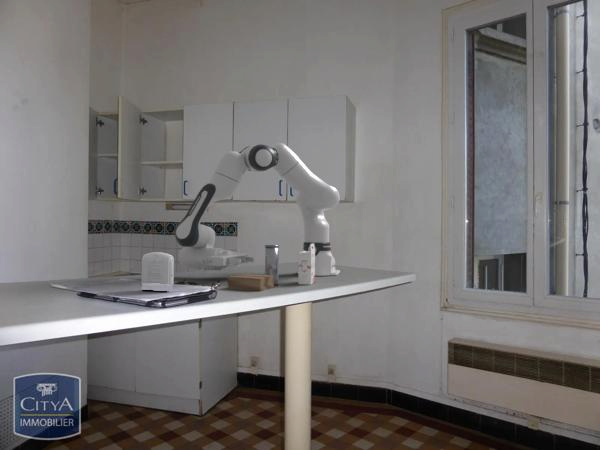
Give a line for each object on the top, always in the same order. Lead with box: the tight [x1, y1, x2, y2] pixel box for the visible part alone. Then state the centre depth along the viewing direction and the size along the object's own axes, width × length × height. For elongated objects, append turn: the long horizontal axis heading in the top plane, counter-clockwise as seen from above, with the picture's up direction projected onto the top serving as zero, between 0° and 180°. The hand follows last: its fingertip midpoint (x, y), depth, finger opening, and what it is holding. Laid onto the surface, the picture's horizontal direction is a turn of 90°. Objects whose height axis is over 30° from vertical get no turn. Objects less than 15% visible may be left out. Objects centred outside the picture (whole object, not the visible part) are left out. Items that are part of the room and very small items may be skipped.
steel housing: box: [264, 244, 280, 285], centre depth 160 cm, size 5×5×14 cm
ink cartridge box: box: [297, 244, 316, 286], centre depth 160 cm, size 9×5×15 cm, turn 168°
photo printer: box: [140, 251, 175, 285], centre depth 136 cm, size 10×4×12 cm, turn 78°
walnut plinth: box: [227, 273, 275, 292], centre depth 145 cm, size 10×12×4 cm
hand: (247, 260), depth 164 cm, fingers open, 8 cm apart
